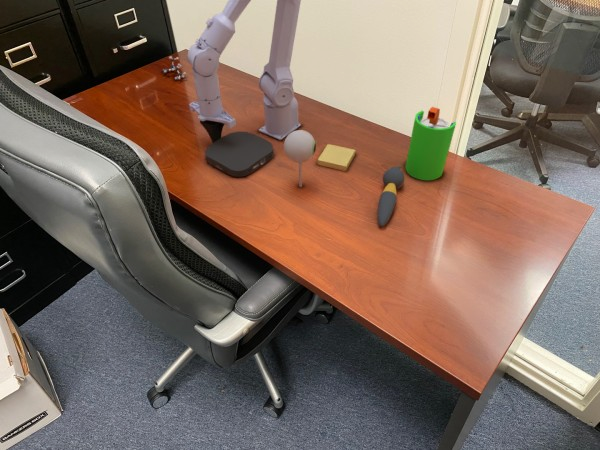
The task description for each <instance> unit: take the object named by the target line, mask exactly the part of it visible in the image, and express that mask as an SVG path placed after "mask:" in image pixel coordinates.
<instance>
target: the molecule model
mask: <svg viewBox="0 0 600 450" xmlns="http://www.w3.org/2000/svg"><path fill="white" fill-rule="evenodd" d="M168 59H169V60H170V61H171V62H172V63H174V62H175V61H176V60H177V61H178V60H179V57H178V56H176V58H174V57H173V56H172V55H170V56H168ZM180 69H182V64H181V63H177V65H176V66H175V64H171V65H170V67H169V68H164V69H162V73H164V74H168V73H170V71H172V72H175V71H176V72H177V76H175V77H174V80H175V81H176V80H181V78H182V79H185V77H186V75H187V72H186V71H184V72H183V73H182V72H180V71H179V70H180Z"/></svg>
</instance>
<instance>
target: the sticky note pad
mask: <svg viewBox="0 0 600 450" xmlns="http://www.w3.org/2000/svg"><path fill="white" fill-rule="evenodd" d="M355 155H356V149H352V148H348V147H342V146H339V145H334V144H330V143H327V145H326V146H325V147H324V149H323V151H322V153H321V154H320V155H319V157H318V159H317V165H318V166H321V167H325V168H326V167H327V168H330V169H333V170H339V171H343V172H347V170H348V169H349V166H350V164H351V163H352V161H353V159H354V158H355Z"/></svg>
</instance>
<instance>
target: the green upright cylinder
mask: <svg viewBox="0 0 600 450" xmlns="http://www.w3.org/2000/svg"><path fill="white" fill-rule="evenodd" d="M440 113H441V110H440V108H438V107H435V106H431V107H430V108H429V110H428V112H427V116H426V117H424V114H425V111H424V110H420V111H418V112H417V113H416V114H415V116H414V121H413V126H412V131H411V132H412V133H411V137H410V141H409V146H408V147H409V148H408V151H407V156H406V162H405V171H406V173H407V175H409V176H410V177H412V178H414V179H416V180H420V181H434V180H437V179H440V178H441V177H442V175H443V173H444V169H445V165H446V162H447V159H448V154H449V150H450V147H451V144H452V141H453V140H452V139H453V136H454V132H455V129H456V125H457V122H456V121H453V122H451V124H449V122H448V121H447V120H446V119H444V118H441V117H440Z"/></svg>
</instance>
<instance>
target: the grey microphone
mask: <svg viewBox="0 0 600 450" xmlns="http://www.w3.org/2000/svg"><path fill="white" fill-rule="evenodd" d="M401 169H402V166H392V167H389V168H388V169H387V170H385V172H384V173H383V175H382V184H383V186H384V189H383V191H382V192H381V194H380V196H379V200H378V205H377V222H378V225H379V226H380V227H384V226H385V225H386V224H387V223H388V222H389V220H390V218H391V216H392V214H393V213H394V210H395V206H396V203H397V196H398V194H397V190H398V189H400V188H401V187H402V186H403V184H404V182H405V174H404V173H403V171H402V170H401Z"/></svg>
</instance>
